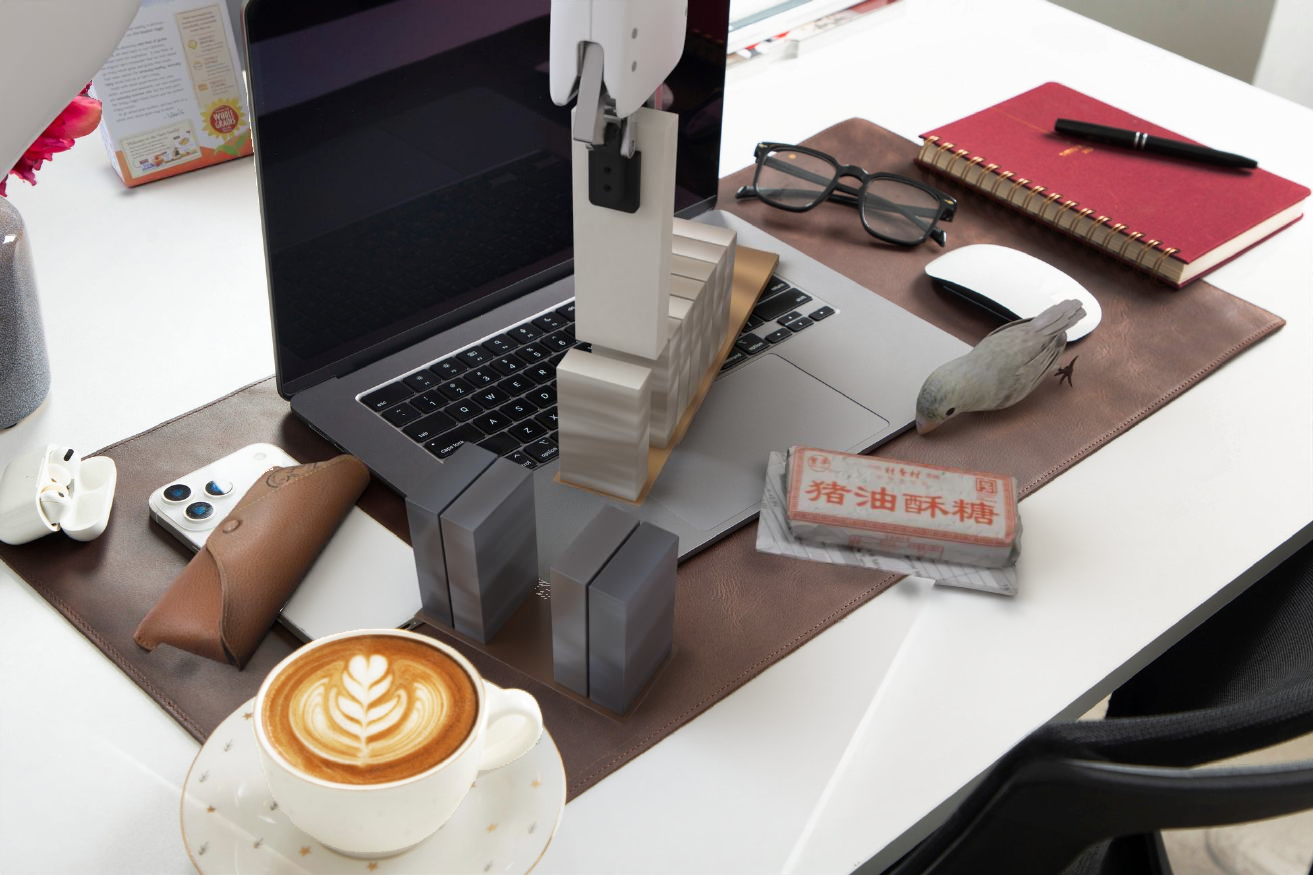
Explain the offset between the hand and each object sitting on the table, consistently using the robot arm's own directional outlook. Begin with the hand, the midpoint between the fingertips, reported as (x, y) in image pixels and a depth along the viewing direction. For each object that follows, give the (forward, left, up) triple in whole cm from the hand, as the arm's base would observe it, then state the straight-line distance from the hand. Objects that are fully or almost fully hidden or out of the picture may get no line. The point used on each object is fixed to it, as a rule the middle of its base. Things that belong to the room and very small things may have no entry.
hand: (623, 193), depth 71 cm
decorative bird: (+22, -22, -23) cm, 39 cm away
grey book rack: (-17, -5, -23) cm, 29 cm away
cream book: (0, 0, -12) cm, 12 cm away
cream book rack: (+13, +2, -23) cm, 27 cm away
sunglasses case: (-22, +15, -23) cm, 35 cm away
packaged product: (+4, -20, -23) cm, 31 cm away
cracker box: (+15, +62, -23) cm, 68 cm away
